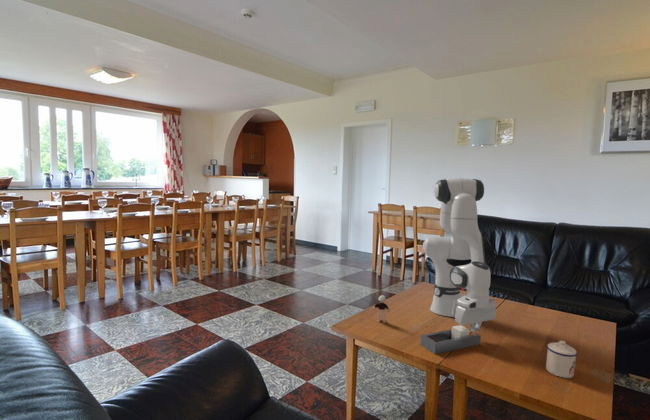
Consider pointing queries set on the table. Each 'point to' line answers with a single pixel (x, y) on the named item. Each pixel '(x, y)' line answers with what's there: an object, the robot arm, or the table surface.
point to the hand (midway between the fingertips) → (474, 331)
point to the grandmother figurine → (381, 309)
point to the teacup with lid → (561, 359)
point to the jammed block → (459, 331)
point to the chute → (447, 341)
